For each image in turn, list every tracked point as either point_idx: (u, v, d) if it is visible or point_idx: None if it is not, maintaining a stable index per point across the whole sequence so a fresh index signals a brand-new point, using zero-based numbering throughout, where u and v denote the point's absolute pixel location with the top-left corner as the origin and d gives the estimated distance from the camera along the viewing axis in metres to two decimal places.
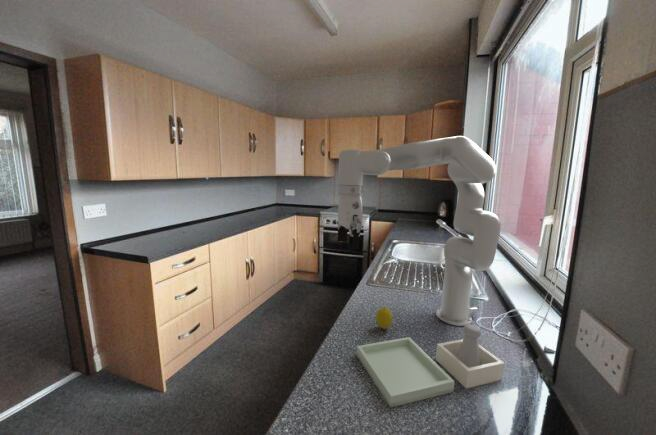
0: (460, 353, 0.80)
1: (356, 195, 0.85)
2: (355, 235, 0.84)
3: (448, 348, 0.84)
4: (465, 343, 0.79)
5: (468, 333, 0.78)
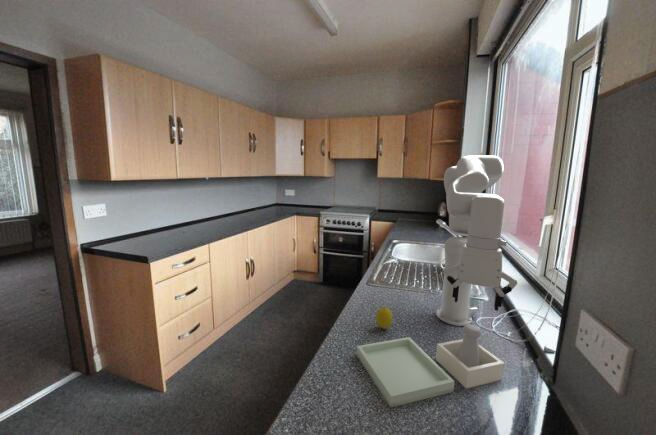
0: (460, 353, 0.80)
1: None
2: None
3: (448, 348, 0.84)
4: (465, 343, 0.79)
5: (468, 333, 0.78)
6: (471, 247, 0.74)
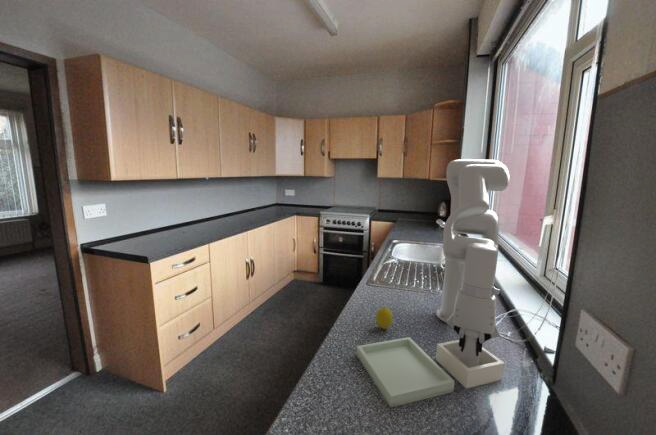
0: (460, 353, 0.80)
1: None
2: None
3: (448, 348, 0.84)
4: (465, 343, 0.79)
5: (468, 333, 0.78)
6: (466, 294, 0.76)
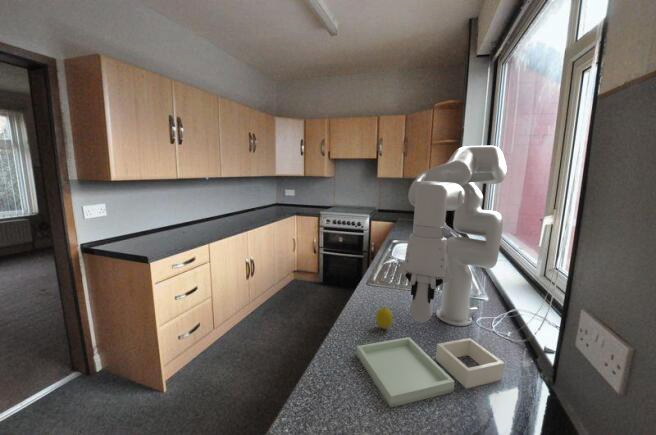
0: (412, 302, 0.76)
1: None
2: None
3: (448, 348, 0.84)
4: (417, 290, 0.75)
5: (419, 279, 0.73)
6: (416, 236, 0.72)
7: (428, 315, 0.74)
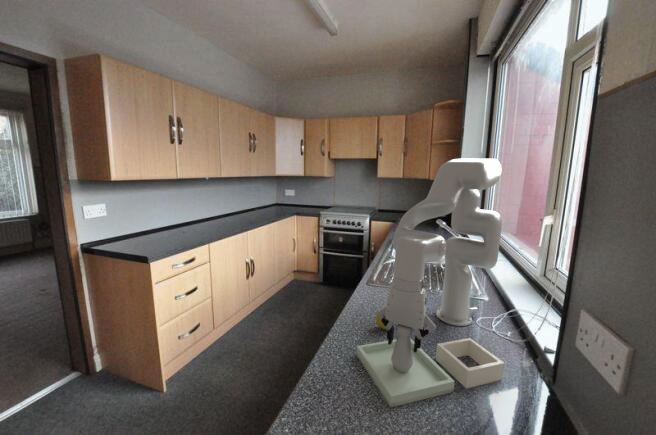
0: (393, 352, 0.78)
1: (422, 288, 0.74)
2: None
3: (448, 348, 0.84)
4: (397, 341, 0.77)
5: (399, 332, 0.76)
6: (395, 288, 0.74)
7: (408, 366, 0.76)
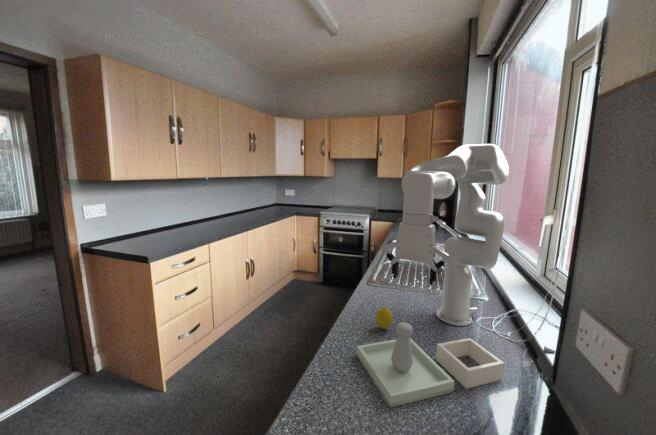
0: (393, 352, 0.78)
1: (431, 223, 0.75)
2: None
3: (448, 348, 0.84)
4: (397, 342, 0.77)
5: (399, 332, 0.76)
6: (405, 224, 0.75)
7: (408, 366, 0.76)
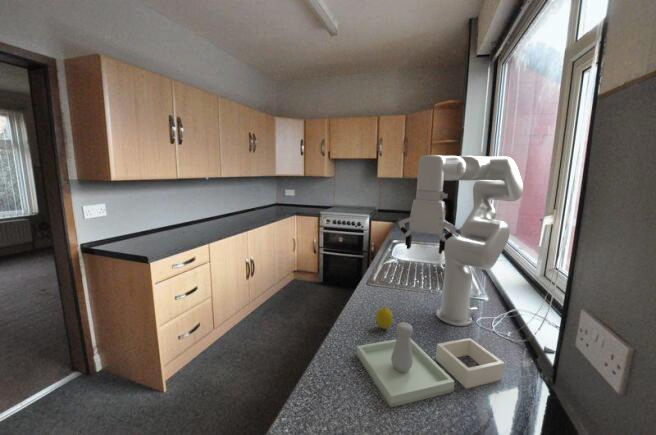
0: (393, 352, 0.78)
1: (441, 200, 0.87)
2: (447, 239, 0.87)
3: (448, 348, 0.84)
4: (397, 342, 0.77)
5: (399, 332, 0.76)
6: (418, 199, 0.87)
7: (408, 366, 0.76)
